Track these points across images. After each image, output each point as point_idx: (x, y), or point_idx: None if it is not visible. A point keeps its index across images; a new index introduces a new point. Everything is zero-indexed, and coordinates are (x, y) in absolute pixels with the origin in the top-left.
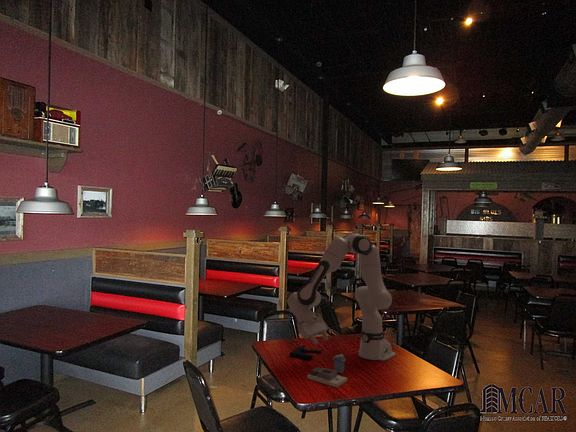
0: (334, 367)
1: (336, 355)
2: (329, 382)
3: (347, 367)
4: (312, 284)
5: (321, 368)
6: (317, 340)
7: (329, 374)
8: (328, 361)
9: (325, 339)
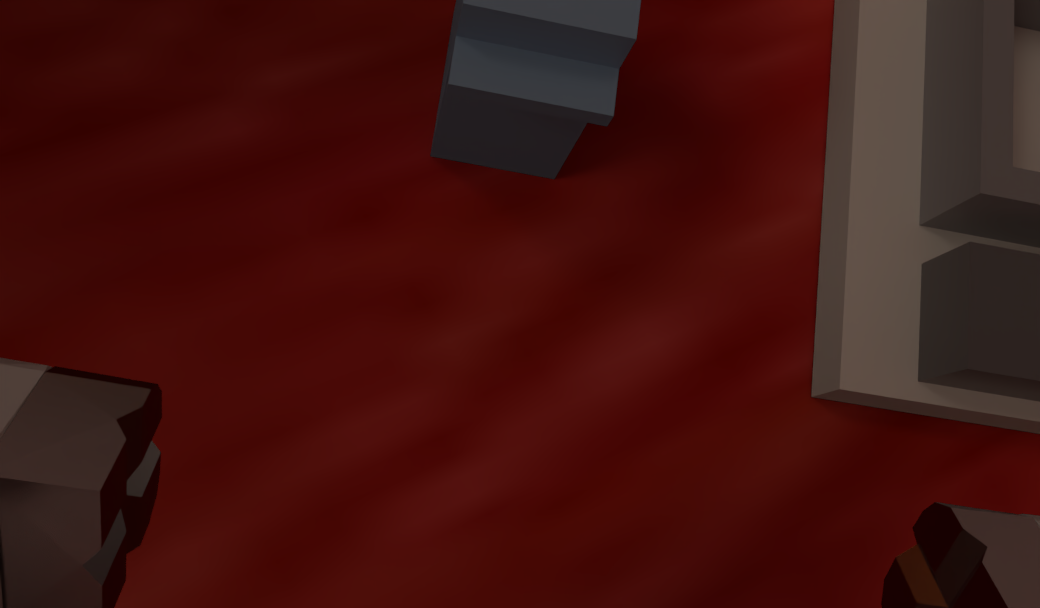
0: (572, 142)
1: (531, 13)
2: None
3: (189, 18)
4: None
5: (982, 264)
6: (1010, 563)
7: None
8: None
9: (149, 476)
